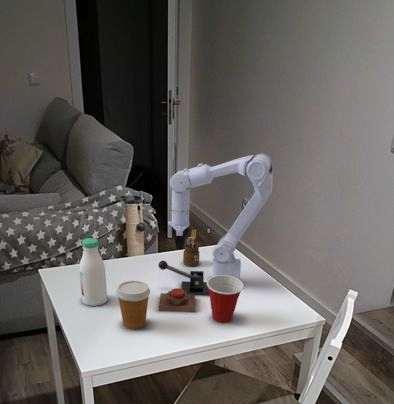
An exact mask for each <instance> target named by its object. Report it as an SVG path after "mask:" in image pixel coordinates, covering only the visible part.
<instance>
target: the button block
mask: <svg viewBox="0 0 394 404" xmlns="http://www.w3.org/2000/svg"><path fill="white" fill-rule="evenodd" d="M195 310H196V295H195V294H188V293H187V292H185V291H184V297H183V298H173V297H171V290H169V291H168V292H166V293H165V292H160V296H159V302H158V312H177V313H195Z"/></svg>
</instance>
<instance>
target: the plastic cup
mask: <svg viewBox="0 0 394 404" xmlns="http://www.w3.org/2000/svg"><path fill="white" fill-rule="evenodd" d="M212 276H213V275H212ZM212 276H210V277H208V279H207V280H206V282H207V286H208V289H209V294H210V296H209V303H210V309H211V316H212V319H213V321H214V322H217V323H221V324H227V323H230V322H231V321H232V320H233V317H234V313H235V311H236V308H237V303H238V300H239V298H240V297H239V296H240V294H241V292H242V291H243V290H244V287H245V286H244V283H243V281H242V280H241V279H240V280H239V279H237V278H235V277H232V276H228V275H216V276H213V277H212Z"/></svg>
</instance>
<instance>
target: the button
mask: <svg viewBox="0 0 394 404" xmlns="http://www.w3.org/2000/svg"><path fill="white" fill-rule="evenodd" d="M170 291H171V297H173V298H183V297H184V290H182V289H181V288H178V287H177V288H171V290H170Z"/></svg>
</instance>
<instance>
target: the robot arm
mask: <svg viewBox="0 0 394 404" xmlns="http://www.w3.org/2000/svg"><path fill="white" fill-rule="evenodd" d="M236 173H237V174H239V175H240V176H243V177H245V176H246V175H247V177H248V179H249V180H250V182H251V183H252V186H253V189H254V193H253V194H252V196H251V198H250V199H249V200H248V201H247V204H246V205H245V206H244V208H243V209H242V211H241V212H240V213H239V215H238V217H237V218H236V220H235V221H234V223H233V224H232V225H231V226H230V229H229V230H228V232H227V233H226V234H225V235H222V237H220V238H219V240H218V242H217V244H216V245H215V246H214V247H213V249H212V256H213V258H212V259H213V261H212V275H211V277H213V276H216V275H228V276H232V277H235V278H237V279H239V280H241V271H242V270H241V267H242V266H241V264H242V262H241V261H242V260H241V259H240V258H236V256H235V254H234V252H235V251H236V250H237V246H238V245H237V244H238V243H239V241H240V239H241V238H242V237H243V235H244V234H245V232H246V231H247V230H248V228H249V227H250V225H251V224H252V223H253V221H254V219H255V218H256V217H257V216H258V214H259V213H260V211H261V210H262V208H263V207H264V206H265V204H266V203H267V201H268V200H269V198H270V197H271V195H272V193H273V181H274V180H273V179H274V166H273V162H272V159H271V158H270V156H269V155H268V154H266V153H263V152H262V153H258V154H256V155H254V154H251V155H246V156H243V157H239V158H234V159H231V160H228V161H226V162H223V163H220V164H217V165H214V166H211V165H209V164H206V163H205V164H204V163H203V162H201V163H198V164H197V166H194V167H192V168H188V167H186V168H184V169H183V170H178V171H177V172H176V173H174V174H173V175H172V176H171V177H170V179H169V186H170V188H171V221H169V220H168V222H167V225H168V226H171V234H172V236H173V238H174V242H175V248H176V250H178V251H180V250H182V251H184V248H185V242H186V239H187V236H188V234H189V230H190V228H189V226H190V224H191V223H190V199H191V198H190V196H191V195H190V190H191V189H194V188H197V187H201V186H204V185H208V184H211V183H212V182H213V180H214V178H219V177H222V176H228V175H232V174H236Z"/></svg>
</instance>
